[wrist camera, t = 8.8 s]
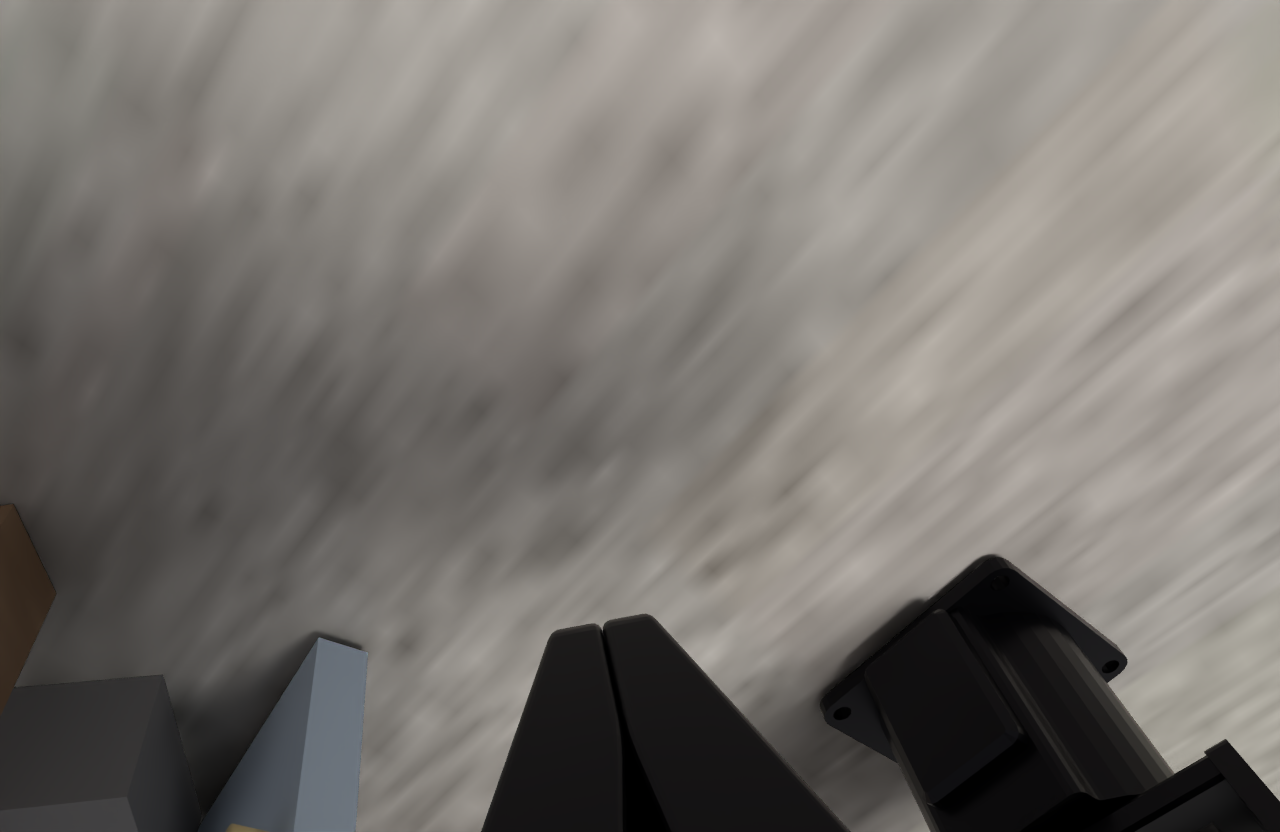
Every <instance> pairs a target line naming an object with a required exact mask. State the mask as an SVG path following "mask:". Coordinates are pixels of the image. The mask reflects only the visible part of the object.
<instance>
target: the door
mask: <svg viewBox="0 0 1280 832" xmlns="http://www.w3.org/2000/svg"><path fill="white" fill-rule="evenodd" d="M367 660H368V652H365V651H361V650H358V649H355V648H352V647H348V646H345V645H342V644H339V643H336V642H332V641H329V640H326V639H323V638H319V637H318V639H317V641H316V642H315V644H314V645H313V647H312V649H311V650H310V652H309V653H308V655H307V656H306V658H305V660H304V661H303V663H302V664H301V666H300V668H299V669H298V671H297V672H296V674H295V675H294V677H293V679H292V680H291V682H290V683H289V685H288V687H287V688H286V690H285V691H284V693H283V694H282V696H281V698H280V699H279V701H278V702H277V704H276V706H275V707H274V709H273V710H272V712H271V713H270V715H269V717H268V718H267V720H266V721H265V723H264V725H263V726H262V728H261V729H260V731H259V732H258V734H257V736H256V737H255V739H254V740H253V742H252V744H251V745H250V747H249V748H248V750H247V751H246V753H245V755H244V756H243V758H242V759H241V761H240V763H239V764H238V766H237V767H236V769H235V770H234V772H233V774H232V775H231V777H230V778H229V780H228V782H227V783H226V785H225V786H224V788H223V789H222V791H221V793H220V794H219V796H218V797H217V799H216V801H215V802H214V804H213V805H212V807H211V808H210V810H209V812H208V813H207V815H206V816H205V818H204V820H203V821H202V823H201V824H200V826H199V829H198V832H355V831H356V817H357V803H358V788H359V774H360V760H361V745H362V731H363V717H364V703H365V688H366V674H367Z"/></svg>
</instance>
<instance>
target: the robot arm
mask: <svg viewBox="0 0 1280 832" xmlns="http://www.w3.org/2000/svg"><path fill="white" fill-rule="evenodd" d="M998 576H999V577H998ZM997 577H998V578H997ZM995 578H996V579H995ZM1126 665H1127V658H1126V657H1125V655H1124V654H1123V653H1122V651H1121V650H1120V649H1119V648H1118V646H1117V645H1116V644H1114V643H1113V642H1112V641H1110V640H1109V639H1108V638H1107V637H1105V636H1104V635H1103V634H1102V633H1100V632H1099V631H1098V630H1096V629H1095V628H1094V627H1093V626H1091V625H1090V624H1089V623H1087V622H1086V621H1085V620H1084V619H1082V618H1081V617H1080V616H1078V615H1077V614H1076V613H1075V612H1073V611H1072V610H1071V609H1070V608H1068V607H1067V606H1066V605H1064V604H1063V603H1062V602H1061V601H1059V600H1058V599H1057V598H1055V597H1054V596H1053V595H1052V594H1050V593H1049V592H1048V591H1046V590H1045V589H1044V588H1043V587H1041V586H1040V585H1039V584H1038V583H1036V582H1035V581H1034V580H1032V579H1031V578H1030V577H1029V576H1027V575H1026V574H1025V573H1023V572H1022V571H1021V570H1020V569H1018V568H1017V567H1016V566H1014V565H1013V564H1012V563H1011V562H1009V561H1008V560H1006V559H1004V558H993V559H990V560H988V561H986V562H984V563H983V564H981V565H980V566H979V567H978V568H977V569H975V570H974V571H973V572H972V573H971V574H969V575H968V576H967V577H966V578H965V579H964V580H962V581H961V582H960V583H959V584H958V585H956V586H955V587H954V588H953V589H952V590H950V591H949V592H948V593H947V594H946V595H944V596H943V597H942V598H941V599H940V600H939V601H937V602H936V603H935V604H934V605H933V606H931V607H930V608H929V609H928V610H927V611H925V612H924V613H923V614H922V615H921V616H919V617H918V618H917V619H916V620H915V621H914V622H912V623H911V624H910V625H909V626H908V627H906V628H905V629H904V630H903V631H902V632H900V633H899V634H898V635H897V636H896V637H895V638H893V639H892V640H891V641H890V642H889V643H887V644H886V645H885V646H884V647H883V648H881V649H880V650H879V651H878V652H877V653H875V654H874V655H873V656H872V657H871V658H870V659H868V660H867V661H866V662H865V663H864V664H862V665H861V666H860V667H859V668H858V669H856V670H855V671H854V672H853V673H852V674H850V675H849V676H848V677H847V678H846V679H845V680H843V681H842V682H841V683H840V684H839V685H837V686H836V687H835V688H834V689H833V690H831V691H830V692H829V693H828V694H827V695H826V696H825V697H824V698H823V699H822V700H821V703H820V709H821V712H822V714H823V717H824V719H825V721H826V722H827V723H828V724H829V725H830V726H832V727H834V728H836V729H838V730H839V731H841V732H843V733H845V734H847V735H848V736H850V737H852V738H854V739H855V740H857V741H859V742H861V743H863V744H864V745H866V746H868V747H870V748H872V749H873V750H875V751H877V752H879V753H881V754H882V755H884V756H886V757H888V758H889V759H891V760H893V761H895V762H897V763H898V764H899V766H900V768H901V770H902V773H903V775H904V777H905V779H906V781H907V783H908V785H909V787H910V789H911V791H912V794H913V796H914V798H915V800H916V802H917V804H918V806H919V808H920V810H921V812H922V815H923V817H924V819H925V821H926V823H927V825H928V827H929V829H930V831H931V832H1280V801H1279V800H1278V799H1277V798H1276V797H1275V796H1274V794H1273V793H1272V792H1271V791H1270V790H1269V789H1268V787H1267V786H1266V785H1265V784H1264V783H1263V782H1262V780H1261V779H1260V778H1259V777H1258V776H1257V775H1256V773H1255V772H1254V771H1253V770H1252V769H1251V768H1250V766H1249V765H1248V764H1247V763H1246V762H1245V761H1244V759H1243V758H1242V757H1241V756H1240V755H1239V754H1238V753H1237V751H1236V750H1235V749H1234V748H1233V747H1232V746H1231V744H1230V743H1229V742H1228V741H1227V740H1226V739H1224V740H1223V741H1221V742H1219V743H1218V744H1216V745H1214V746H1212V747H1211V748H1209V749H1207V750H1206V751H1204V752H1205V754H1206V756H1205V757H1203V758H1201V759H1199V760H1198V761H1196V762H1194V763H1193V764H1191V765H1189V766H1188V767H1186V768H1184V769H1182V770H1181V771H1179V772H1177V773H1176V774H1174V772H1173V771H1172V770H1171V768H1170V767H1169V766H1168V764H1167V763H1166V762H1165V760H1164V759H1163V757H1162V756H1161V755H1160V753H1159V752H1158V751H1157V749H1156V748H1155V747H1154V745H1153V744H1152V743H1151V741H1150V740H1149V739H1148V737H1147V736H1146V735H1145V733H1144V732H1143V731H1142V729H1141V728H1140V727H1139V725H1138V724H1137V723H1136V721H1135V720H1134V719H1133V717H1132V716H1131V715H1130V713H1129V712H1128V711H1127V709H1126V708H1125V707H1124V705H1123V704H1122V703H1121V701H1120V700H1119V699H1118V697H1117V696H1116V695H1115V693H1114V692H1113V691H1112V689H1111V688H1110V687H1109V685H1108V684H1107V683H1108V682H1109V681H1110V680H1112V679H1113V678H1114V677H1116V676H1117V675H1118V674H1120V673H1121V672H1122V671H1123V670H1124V669H1125V667H1126ZM481 832H850V831H849V830H848V829H847V827H846V826H845V825H844V824H843V823H842V822H841V821H840V820H839V819H838V818H837V817H836V815H835V814H834V813H833V812H832V811H831V810H830V809H829V808H828V807H827V806H826V804H825V803H824V802H823V801H822V800H821V799H820V798H819V797H818V796H817V795H816V794H815V792H814V791H813V790H812V789H811V788H810V787H809V786H808V785H807V784H806V783H805V782H804V780H803V779H802V778H801V777H800V776H799V775H798V774H797V773H796V772H795V771H794V770H793V768H792V767H791V766H790V765H789V764H788V763H787V762H786V761H785V760H784V759H783V758H782V756H781V755H780V754H779V753H778V752H777V751H776V750H775V749H774V748H773V747H772V745H771V744H770V743H769V742H768V741H767V740H766V739H765V738H764V737H763V736H762V735H761V733H760V732H759V731H758V730H757V729H756V728H755V727H754V726H753V725H752V724H751V723H750V721H749V720H748V719H747V718H746V717H745V716H744V715H743V714H742V713H741V712H740V711H739V709H738V708H737V707H736V706H735V705H734V704H733V703H732V702H731V701H730V700H729V699H728V697H727V696H726V695H725V694H724V693H723V692H722V691H721V690H720V689H719V688H718V687H717V685H716V684H715V683H714V682H713V681H712V680H711V679H710V678H709V677H708V676H707V674H706V673H705V672H704V671H703V670H702V669H701V668H700V667H699V666H698V665H697V664H696V662H695V661H694V660H693V659H692V658H691V657H690V656H689V655H688V654H687V653H686V652H685V650H684V649H683V648H682V647H681V646H680V645H679V644H678V643H677V642H676V641H675V640H674V638H673V637H672V636H671V635H670V634H669V633H668V632H667V631H666V630H665V629H664V628H663V626H662V625H661V624H660V623H659V622H658V621H657V620H656V619H655V618H654V617H652V616H651V615H648V614H640V615H635V616H629V617H624V618H618V619H613V620H609V621H607V622H606V623H605V624H604V626H603V633H602V630H601V628H600V626H599V625H597V624H586V625H581V626H576V627H570V628H565V629H560V630H556V631H555V632H553V633H552V634H551V636H550V638H549V639H548V642H547V645H546V647H545V650H544V653H543V656H542V659H541V662H540V665H539V668H538V670H537V673H536V676H535V679H534V682H533V685H532V688H531V690H530V693H529V696H528V699H527V702H526V705H525V708H524V710H523V713H522V716H521V719H520V722H519V725H518V728H517V730H516V733H515V736H514V739H513V742H512V745H511V748H510V750H509V753H508V756H507V759H506V762H505V765H504V768H503V770H502V773H501V776H500V779H499V782H498V785H497V788H496V790H495V793H494V796H493V799H492V802H491V805H490V808H489V811H488V813H487V816H486V819H485V822H484V825H483V828H482V831H481Z"/></svg>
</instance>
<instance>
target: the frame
mask: <svg viewBox="0 0 1280 832" xmlns="http://www.w3.org/2000/svg"><path fill="white" fill-rule="evenodd" d="M55 596H56V592H55V590H54V588H53V586H52V584H51V581H50V579H49V577H48V575H47V573H46V571H45V569H44V567H43V565H42V563H41V561H40V559H39V557H38V554H37V552H36V550H35V548H34V546H33V544H32V542H31V540H30V538H29V536H28V534H27V532H26V530H25V527H24V525H23V523H22V521H21V519H20V517H19V515H18V513H17V511H16V509H15V507H14V505H13V504H11V505H3V506H0V716H1V714H2V712H3V710H4V707H5V705H6V703H7V701H8V699H9V696H10V694H11V692H12V690H13V688H14V685H15V683H16V681H17V679H18V677H19V675H20V672H21V670H22V668H23V666H24V664H25V661H26V659H27V657H28V655H29V653H30V650H31V648H32V646H33V644H34V642H35V640H36V637H37V635H38V633H39V631H40V629H41V626H42V624H43V622H44V620H45V618H46V615H47V613H48V611H49V609H50V607H51V605H52V602H53V600H54V598H55Z"/></svg>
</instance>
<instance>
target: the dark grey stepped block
mask: <svg viewBox="0 0 1280 832" xmlns="http://www.w3.org/2000/svg"><path fill="white" fill-rule="evenodd" d="M201 815H202V813H201V810H200V806H199V803H198V799H197V795H196V792H195V788H194V785H193V781H192V777H191V774H190V770H189V767H188V763H187V760H186V756H185V752H184V749H183V745H182V742H181V738H180V734H179V731H178V727H177V724H176V720H175V716H174V713H173V709H172V706H171V702H170V698H169V695H168V691H167V688H166V684H165V680H164V677H163V675H154V676H143V677H131V678H120V679H109V680H97V681H86V682H75V683H63V684H52V685H41V686H29V687H18V688H13V690H12V692H11V694H10V696H9V699H8V701H7V703H6V705H5V707H4V710H3V712H2V714H1V716H0V832H198V829H199V824H200V820H201Z"/></svg>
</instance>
